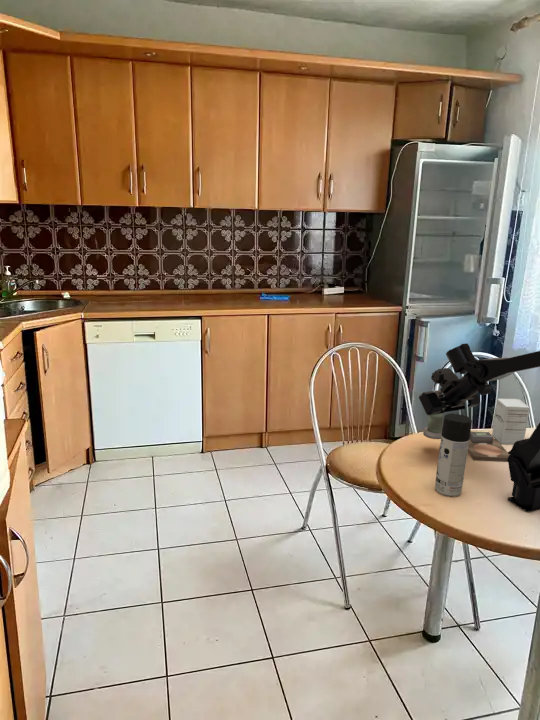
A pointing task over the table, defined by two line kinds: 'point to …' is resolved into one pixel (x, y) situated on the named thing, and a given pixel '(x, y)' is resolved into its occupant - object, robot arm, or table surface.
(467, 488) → the table surface
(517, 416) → the supplement box
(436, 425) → the ring stacking peg
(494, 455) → the digital kitchen scale
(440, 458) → the spray can
